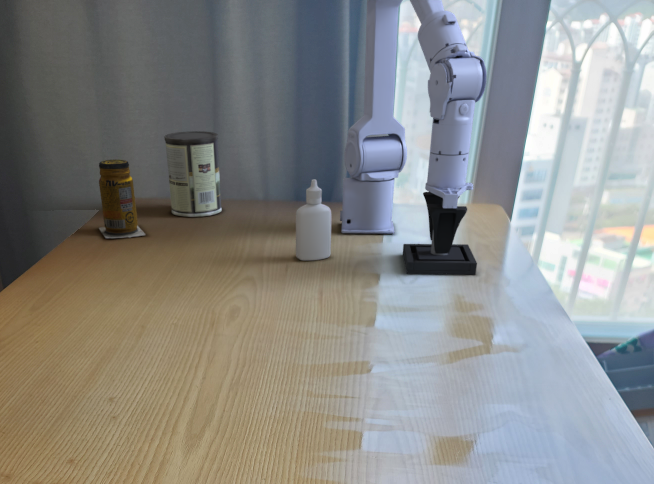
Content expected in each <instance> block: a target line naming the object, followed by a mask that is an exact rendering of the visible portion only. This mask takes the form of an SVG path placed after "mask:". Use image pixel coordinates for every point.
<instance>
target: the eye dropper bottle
mask: <svg viewBox="0 0 654 484" xmlns="http://www.w3.org/2000/svg"><path fill="white" fill-rule="evenodd" d="M322 195H323V190H322V188H320V187H319V186H318V181H317V179H311V182H310V186H309V187H308V188H306V191H305V203H306V204H304V205H301V206H300V207H298V209H297V210H296V212H295V257H296V258H297V259H298V260H300V261H302V262H303V261H305V262H308V261H311V262H312V261H319V260H325V259H327V258H330V256H331V250H332V247H331V246H332V210H331V208H330V207H329V206H328V205H326V204H323V203H322Z"/></svg>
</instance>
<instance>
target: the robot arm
mask: <svg viewBox="0 0 654 484" xmlns="http://www.w3.org/2000/svg"><path fill="white" fill-rule="evenodd" d="M403 1H404V0H366V18H365V19H366V21H365V24H366V26H365V53H364V55H365V57H364V88H363V89H364V92H363V93H364V95H363V115H362V116H361V117H360V118H359V119H358V120H357V121H356V122H355V123H353V124H352V125H351V126H350V127H349V128H348V130H347V136H346V145H345V148H344V158H343V160H344V166H345V169H346V171H347V173H348V174H349V176H350V177H343V179H342V202H341V203H342V204H341V205H342V209H341V210H340V211H339V221H340V222H341V233H342V234H388V235H390V234H394V233H395V227H394V221H393V206H394V194H395V193H394V191H395V179H397V178H399V173H401V172H402V171H403V170H404V168H405V166H406V164H407V159H408V148H407V143H406V142H407V141H406V127H405V126H404V125H403V124H402V123H400V122H399V121H398V120H397V119H396V118H395V117H394V106H395V85H396V63H397V46H398V45H397V43H398V21H399V7H400V5H401V4H402V2H403ZM409 2H410V4H411V6H412V8H413V10H414V13H415V15H416V16H417V18H418V20H419V22H420V26H419V28H418V32H417V40H418V43H419V45H420V49H421V51H422V53H423V56H424V59H425V62H426V64H427V67H428V70H429V73H430V74H429V79H428V80H427V93H428V94H427V95H428V98H429V113H430V115H429V116H430V118H432V124H431V134H430V146H429V157H428V168H427V177H426V178H427V180H426V182H425V185H424V189H425V191H424V192H423V193H422V195H423V197H424V200H425V205H426V208H427V215H428V229H429V238H430V241H432V235H433V232H434V249H435V253H436V254H449V252H450V249H451V247H452V244H454V240H455V236H456V233H457V230H458V228H459V226H460V224H461V223H462V220H463V218H464V217H465V216H466V214H467V213H468V207H467V206H465V205H464V206H462V205H458V201H459V199H460V198H461V195H463V194H464V193H465V192H466V191H473V190H474V184H473V182H467V175H468V166H469V159H470V158H469V157H470V149H471V143H472V142H471V141H472V134H473V133H472V132H473V124H474V116H475V107H476V103H478V102H479V101H480V100H481V99H482V97H483V96H484V94H485V91H486V88H487V80H488V74H487V73H488V72H487V68H486V63H485V60H484V59H483V58H482V57H481V56H480V55H476V54H475V52H474V51H470V50H469V48H468V45H467V43H466V40H465V38H464V35H463V31H462V29H461V27H460V24H459V22H458V19H457V16H456V15H455V13H453V12H452V11H449V10H445V7H444V3H443V0H409ZM378 135H379V136H378Z"/></svg>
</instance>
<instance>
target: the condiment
mask: <svg viewBox="0 0 654 484" xmlns="http://www.w3.org/2000/svg"><path fill="white" fill-rule="evenodd" d="M98 168H99V176H100V177H99V180H98V186H99V193H100V201H101V209H102V214H103V224H104V226H102V227H98V229H99V231H100V233H101V234H102V235H103V237H104V238H105V239H123V238H133V237H141V236H142V237H143V236H146V233H145V232H144V230H142V228H140V226H139V223H138V213H137V212H138V211H137V206H136V196H135V188H134V179H133V177H132V176H131V170H130V163H129V161H128V160H126V159H105V160H102V161H99V163H98Z"/></svg>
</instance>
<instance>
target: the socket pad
mask: <svg viewBox="0 0 654 484" xmlns="http://www.w3.org/2000/svg"><path fill="white" fill-rule="evenodd" d="M431 245H432V243H403V245H402V258H403V263H404V269H405V274H406V275H459V276H460V275H462V276H463V275H465V276H466V275H467V276H470V275H471V276H476V273H477V267H478V262H477V260H476V258H475V256H474V253H473V252H472V250H471V248H470V246H469V244H465V243H462V244H461V243H457V244H455V243H453V244H452V247H459V248H460V250H461V252H462V255H463V257H464V259H465V261H417V259H416V255H415V251H416V247H431Z"/></svg>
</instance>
